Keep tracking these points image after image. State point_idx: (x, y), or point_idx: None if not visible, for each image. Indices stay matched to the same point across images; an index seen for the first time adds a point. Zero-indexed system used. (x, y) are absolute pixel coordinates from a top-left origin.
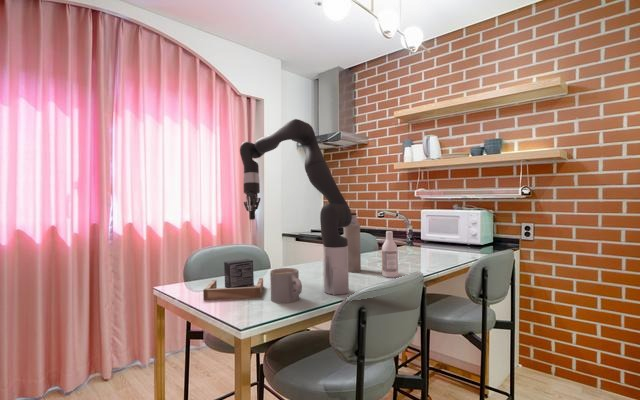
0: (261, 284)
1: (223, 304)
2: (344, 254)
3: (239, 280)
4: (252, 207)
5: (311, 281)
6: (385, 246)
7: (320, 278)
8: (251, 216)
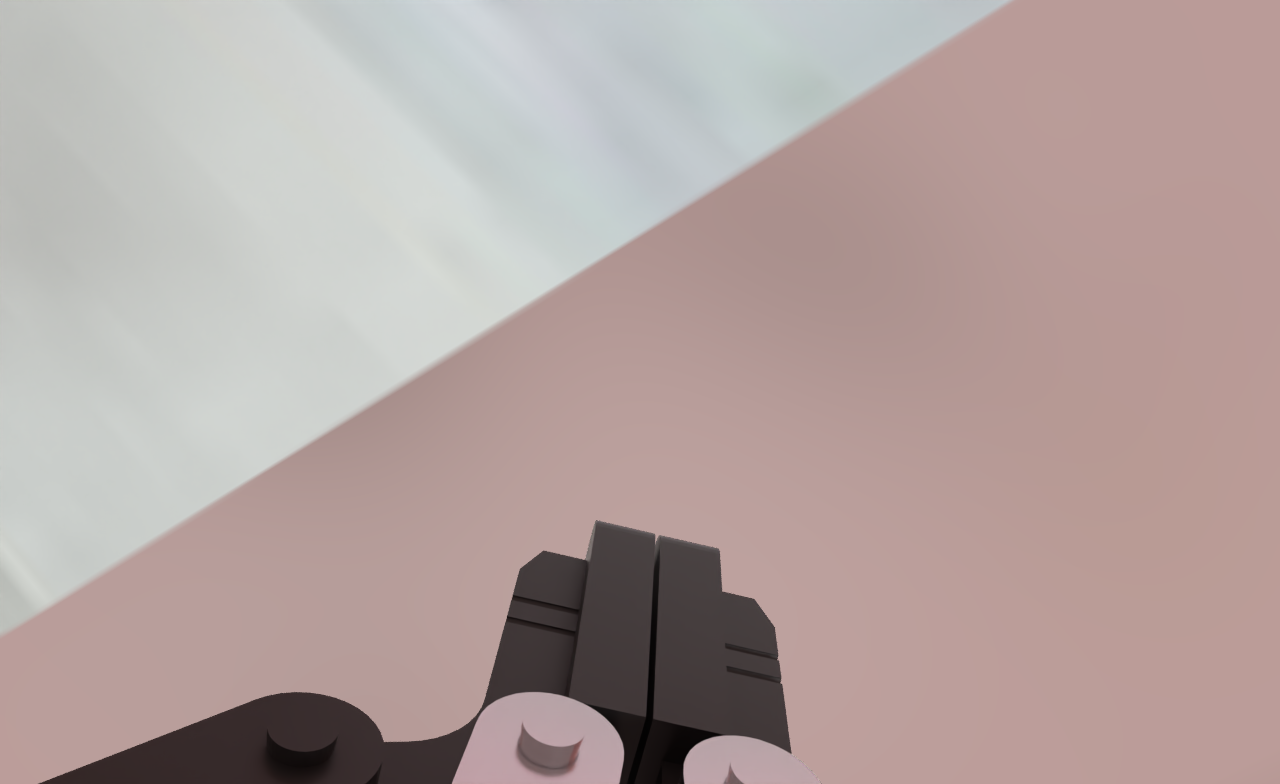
0: None
1: None
2: None
3: None
4: (264, 751)
5: (12, 419)
6: None
7: (36, 574)
8: (580, 592)
